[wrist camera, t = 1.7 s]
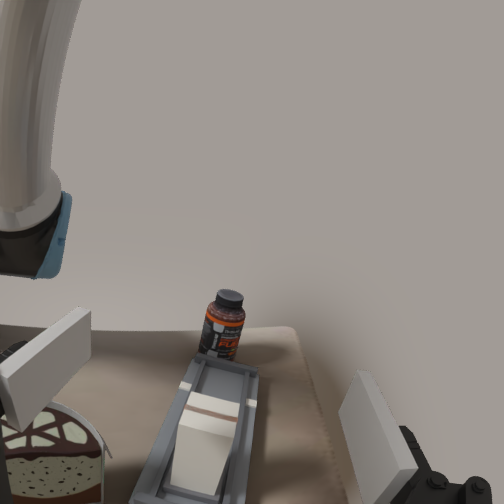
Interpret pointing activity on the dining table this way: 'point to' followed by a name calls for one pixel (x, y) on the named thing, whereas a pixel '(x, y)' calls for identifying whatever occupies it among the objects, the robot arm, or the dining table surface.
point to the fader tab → (202, 448)
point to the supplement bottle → (223, 325)
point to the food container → (55, 459)
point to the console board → (196, 380)
